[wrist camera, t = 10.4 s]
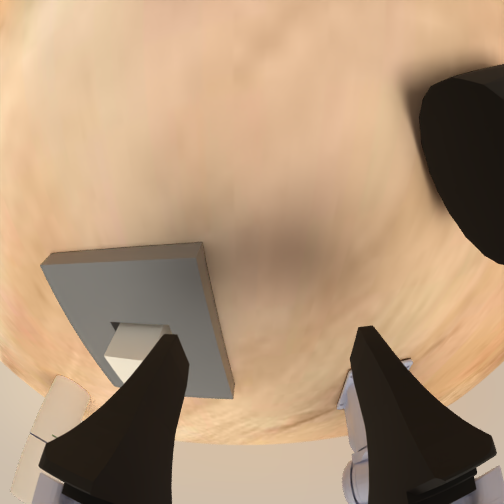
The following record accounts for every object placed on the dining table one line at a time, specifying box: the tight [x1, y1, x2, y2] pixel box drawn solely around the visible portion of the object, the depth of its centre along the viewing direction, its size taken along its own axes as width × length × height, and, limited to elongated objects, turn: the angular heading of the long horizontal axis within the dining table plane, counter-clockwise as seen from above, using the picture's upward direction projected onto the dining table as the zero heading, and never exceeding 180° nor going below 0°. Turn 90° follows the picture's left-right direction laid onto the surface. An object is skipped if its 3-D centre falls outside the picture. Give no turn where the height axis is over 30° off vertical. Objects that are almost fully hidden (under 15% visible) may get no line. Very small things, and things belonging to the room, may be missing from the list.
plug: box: [104, 323, 172, 383], centre depth 22 cm, size 6×4×6 cm
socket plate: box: [40, 242, 235, 399], centre depth 23 cm, size 18×15×2 cm
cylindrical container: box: [10, 375, 90, 504], centre depth 23 cm, size 7×7×25 cm
